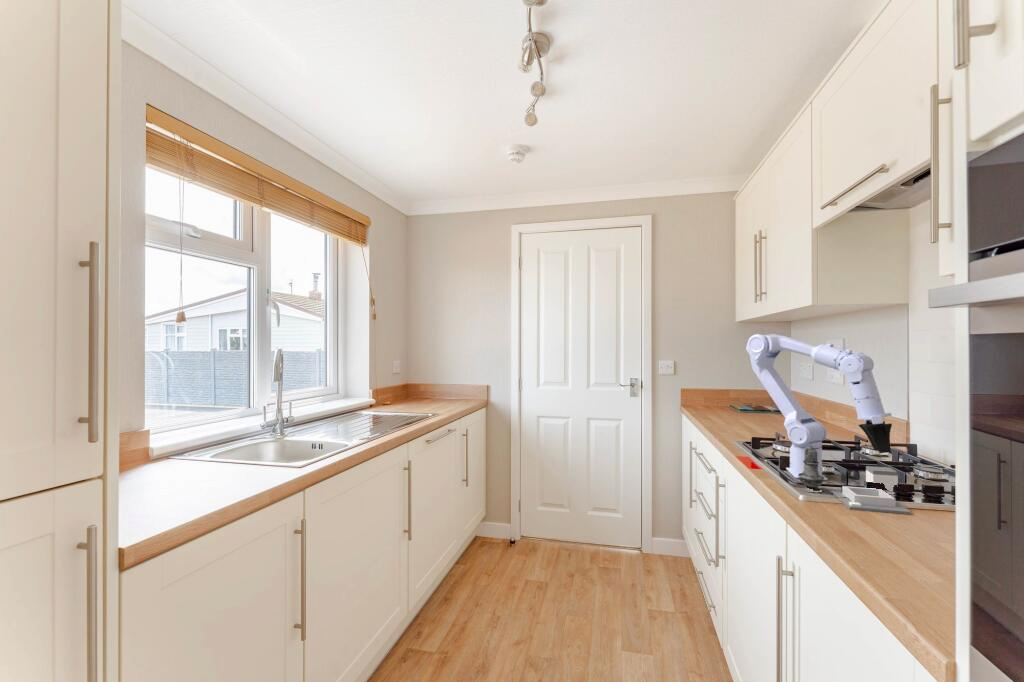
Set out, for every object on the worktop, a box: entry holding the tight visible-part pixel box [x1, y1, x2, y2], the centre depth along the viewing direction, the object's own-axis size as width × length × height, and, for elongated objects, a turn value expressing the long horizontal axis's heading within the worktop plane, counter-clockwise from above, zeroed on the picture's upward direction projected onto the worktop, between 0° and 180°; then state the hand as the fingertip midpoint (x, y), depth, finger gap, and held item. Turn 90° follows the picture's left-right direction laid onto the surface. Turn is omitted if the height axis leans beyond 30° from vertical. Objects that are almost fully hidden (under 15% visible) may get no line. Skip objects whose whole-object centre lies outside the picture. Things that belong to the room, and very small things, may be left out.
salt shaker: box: [798, 445, 825, 491], centre depth 120 cm, size 6×6×12 cm
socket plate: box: [829, 485, 912, 516], centre depth 111 cm, size 12×12×3 cm
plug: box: [865, 465, 898, 491], centre depth 118 cm, size 4×5×6 cm
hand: (882, 451), depth 116 cm, fingers open, 7 cm apart
